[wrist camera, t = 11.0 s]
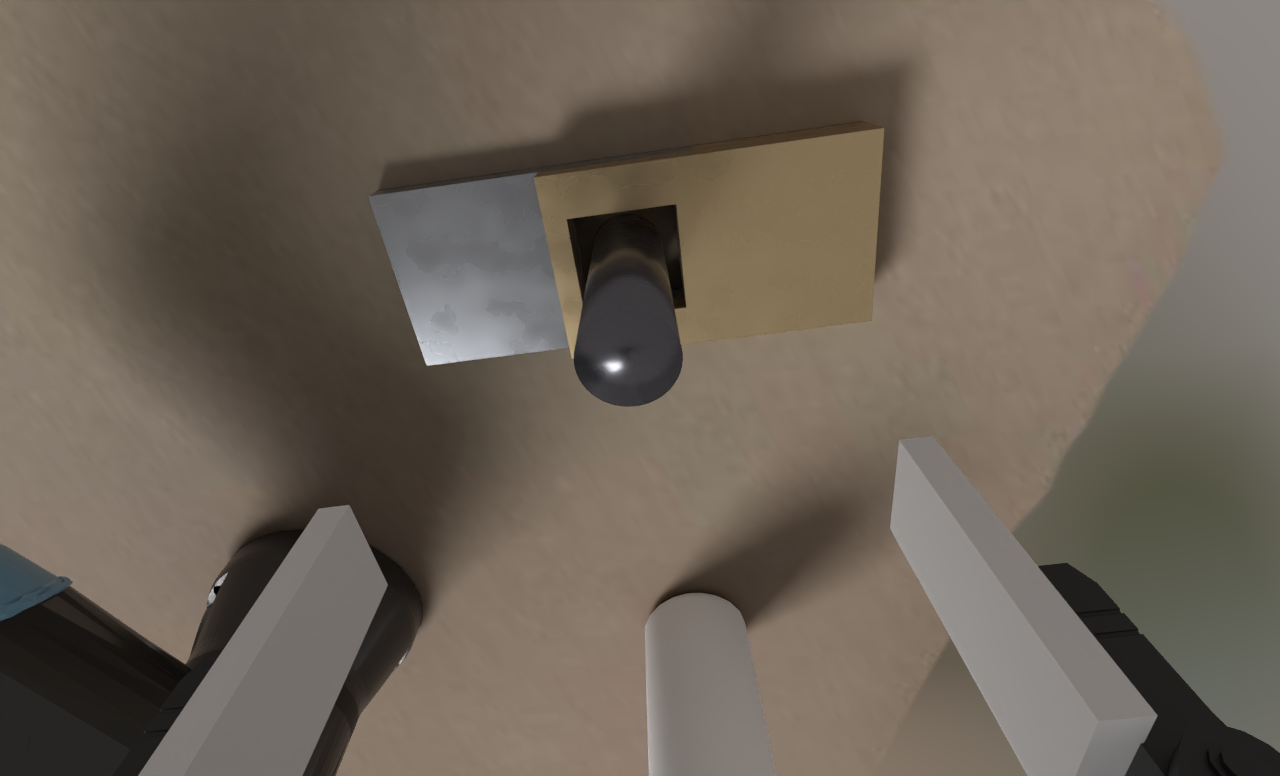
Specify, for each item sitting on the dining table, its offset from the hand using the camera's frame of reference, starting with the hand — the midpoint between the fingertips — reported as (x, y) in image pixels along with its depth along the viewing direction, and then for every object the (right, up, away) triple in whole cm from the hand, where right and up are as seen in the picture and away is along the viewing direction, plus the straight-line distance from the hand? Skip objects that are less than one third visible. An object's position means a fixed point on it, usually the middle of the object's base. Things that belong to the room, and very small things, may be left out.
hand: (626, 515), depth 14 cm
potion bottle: (+5, -16, +35) cm, 39 cm away
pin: (0, +11, +20) cm, 23 cm away
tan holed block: (0, +11, +20) cm, 22 cm away
